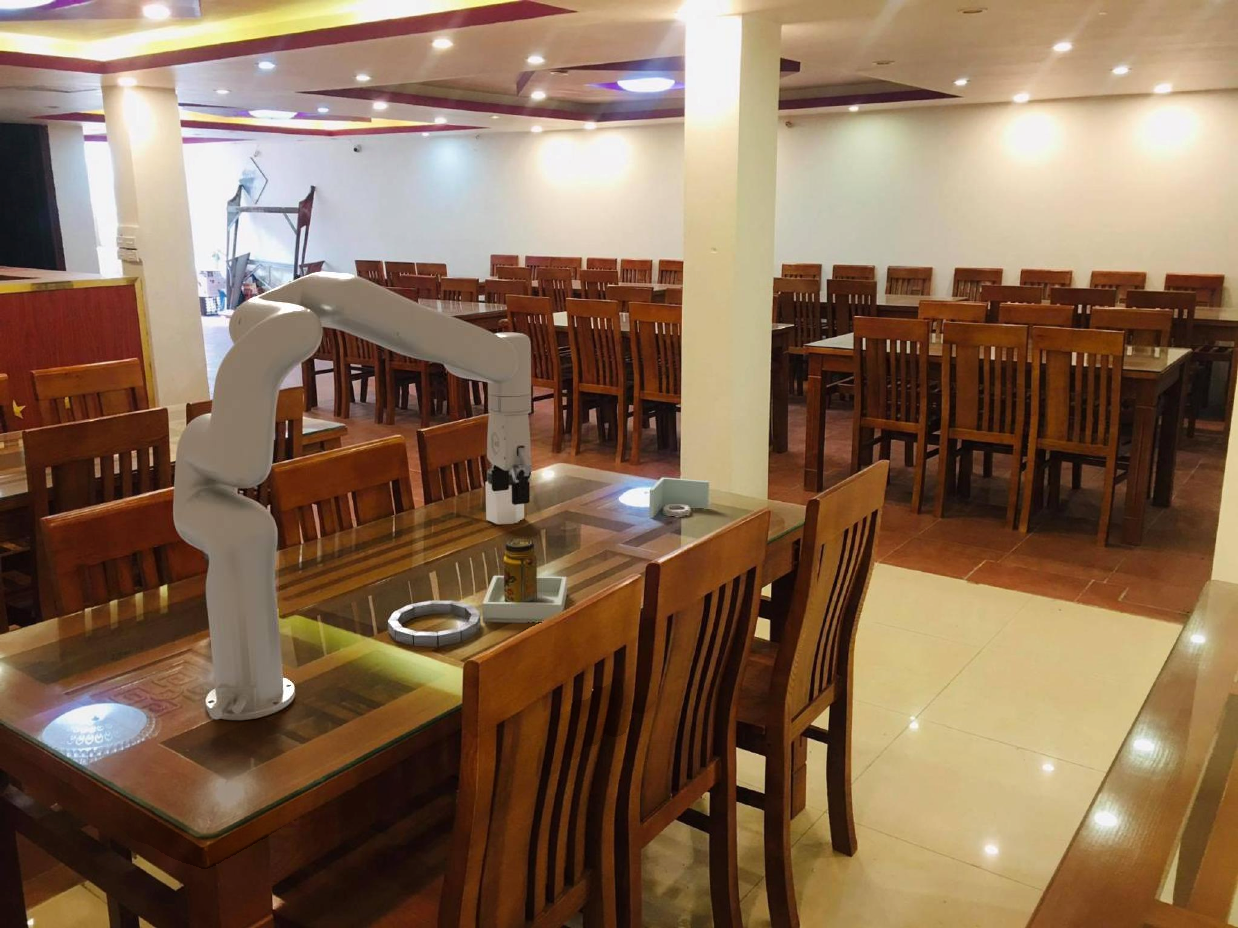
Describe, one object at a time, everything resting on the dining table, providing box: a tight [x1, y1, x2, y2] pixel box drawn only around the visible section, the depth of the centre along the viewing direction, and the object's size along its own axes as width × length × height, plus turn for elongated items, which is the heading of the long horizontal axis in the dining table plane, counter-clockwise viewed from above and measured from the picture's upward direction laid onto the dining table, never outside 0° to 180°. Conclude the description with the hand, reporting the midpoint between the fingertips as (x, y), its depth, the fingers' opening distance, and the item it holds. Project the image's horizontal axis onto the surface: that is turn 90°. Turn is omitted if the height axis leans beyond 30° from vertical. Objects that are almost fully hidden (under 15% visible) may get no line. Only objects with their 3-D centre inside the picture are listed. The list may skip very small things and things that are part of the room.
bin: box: [481, 575, 568, 624], centre depth 186 cm, size 14×14×4 cm
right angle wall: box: [648, 476, 710, 519], centre depth 245 cm, size 12×12×8 cm
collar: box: [387, 599, 481, 648], centre depth 177 cm, size 16×16×2 cm
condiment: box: [500, 538, 555, 603], centre depth 185 cm, size 7×8×12 cm
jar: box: [485, 468, 525, 525], centre depth 238 cm, size 9×8×12 cm
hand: (510, 496), depth 182 cm, fingers open, 9 cm apart
